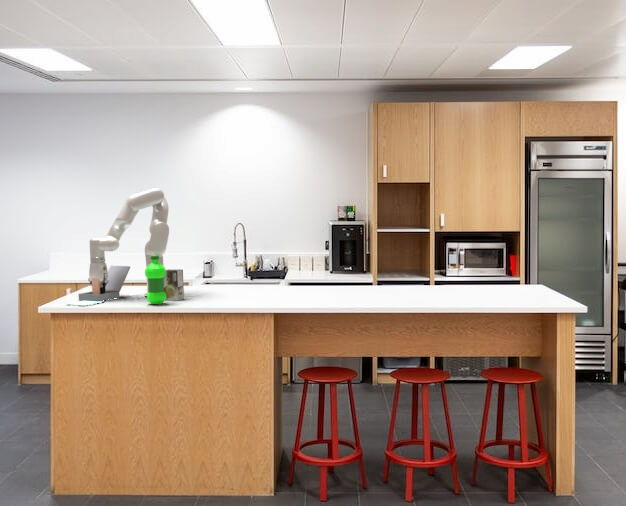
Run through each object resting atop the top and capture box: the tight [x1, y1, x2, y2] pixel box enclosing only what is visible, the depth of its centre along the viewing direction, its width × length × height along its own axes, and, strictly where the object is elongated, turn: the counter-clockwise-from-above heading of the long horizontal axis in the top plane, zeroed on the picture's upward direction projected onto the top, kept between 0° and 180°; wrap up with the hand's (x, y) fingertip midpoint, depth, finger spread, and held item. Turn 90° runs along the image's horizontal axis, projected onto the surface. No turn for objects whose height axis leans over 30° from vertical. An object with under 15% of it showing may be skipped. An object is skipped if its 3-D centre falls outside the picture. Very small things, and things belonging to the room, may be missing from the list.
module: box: [91, 278, 106, 295], centre depth 391 cm, size 5×5×13 cm
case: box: [78, 265, 131, 301], centre depth 395 cm, size 16×25×17 cm, turn 150°
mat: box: [66, 300, 103, 307], centre depth 378 cm, size 14×14×1 cm
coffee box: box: [164, 268, 185, 301], centre depth 386 cm, size 9×6×16 cm
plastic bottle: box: [144, 256, 167, 305], centre depth 371 cm, size 10×10×25 cm
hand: (99, 293), depth 391 cm, fingers closed on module, 5 cm apart
